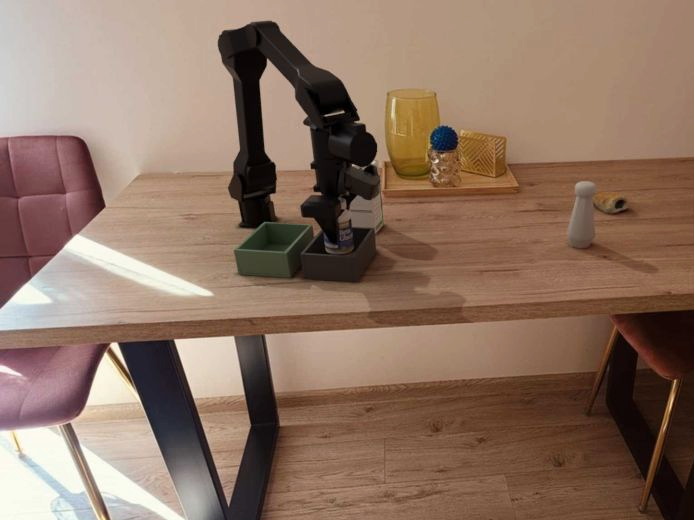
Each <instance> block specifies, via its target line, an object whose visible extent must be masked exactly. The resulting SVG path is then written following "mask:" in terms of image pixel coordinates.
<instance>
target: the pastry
mask: <svg viewBox="0 0 694 520" xmlns="http://www.w3.org/2000/svg"><path fill="white" fill-rule="evenodd" d="M593 204H594V206H596V208H597V209H599V210H600V211H602V212H603V213H605V214H611V215H613V214H616V213H619V212H621V211H625V210H627V209H628V208H629V206H630V201H629V198H627V196H626V195H625V196H624V195H622V194H620V193H619V192H616V191H596V195H595V196H593Z"/></svg>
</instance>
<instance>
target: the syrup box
mask: <svg viewBox="0 0 694 520" xmlns="http://www.w3.org/2000/svg"><path fill="white" fill-rule="evenodd" d="M371 164H373V165H375V166H377V170H378V175H380V166H379V165H380V164H379V160H377V159H374V160H373V162H372V163H371ZM352 167H355V168H358V169H359V168H360V167H359V166H356V165H353V164H352ZM361 168H362V170H363V169H364V168H365V167H361ZM382 197H383V196H382V186H381V182H380V183H379V186H378V189H377V192H376V195H374V197H373V199H372V200H365V199H363V198H362V197H360V196H358V195H357V197H356V198H355V199H354V200H353V201H352V202H351V205H350V210H349V212H350V214H351V221H352V227H364V228H374V229H375V235H376V234H377V233H378V232H379V230H380V229H381V228H382V227H383V226H384V225H385V221H384V211H383V210H384V209H383V198H382Z"/></svg>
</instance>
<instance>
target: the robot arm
mask: <svg viewBox="0 0 694 520" xmlns="http://www.w3.org/2000/svg"><path fill="white" fill-rule="evenodd" d="M217 48H218V52H219V54H220V58H221V63H222V65H223V66H224V68H225V69H226V71H227V72H228V73H229V74H230V76H231V77H232V84H233V94H234V95H233V96H234V103H235V114H236V124H237V133H238V134H237V135H238V144H239V151H238V153H237V155H236V157H235V159H234V160H233V162H232V163H233V164H232V167H233V168H232V169H233V171H232V172H233V173H232V177H231V179H230V182H229V184H228V186H227V190H228V193H229V197H230V199H233V200H235V201H236V202H237V204H238V209H239V214H240V219H241V221H240V222H239V223H238V227H243V228H256V229H257V228H258V227H259V226H260V225H261V224H263V223H264V222H275V221H276V220H277V219H278V215H276V209H275V204H274V201H273V200H272V198H271V195H275V194H277V181H278V175H277V165H276V163H275V161H272V159H271V157H269V156H268V154H267V152H266V148H265V133H264V122H263V121H264V119H263V108H262V94H261V79H262V77H263V75H264V72H265V71H266V69H267V66H268V62H270V63H271V65H273V67H275V68H276V69H277V71H278V72H279V73H280V74H281V75H282V77H284V78H285V79H286V80H287V81H288V82H289V84H291V87H292V88H293V89H294V99H295V101H296V102H297V104H298V105H299V107H300V108H301V109H302V111H303V112H304V114H306V117H305V118H304V119H303V120H302V124H303V126H306V127H309V132H310V142H311V148H312V158H313V161H311V162H310V164H309V165H310V170H314V173H315V174H314V175H315V182H316V183H315V184H314V185H313V186H312V189H313V193H320V194H310V195H309V196H307V198H306V199H305V200H304V201H303V202H302V203H301V205H300V206H299V208H300V214H301V217H302V218H305V219H314V221H315V222H316V223H317V225H318V226H319V227H320V230H323V232H324V233H325V235H326V236H327V238H328V239H329V241H330V243H333V244H336V243H337V236H338V218H339V217H340V216H341V214H342V213H343V212H344V211H345V209H341V201H340V200H339V198H344V199H345V200H346V210H348V211H349V210H350V205H351V202H352V201H353V200H354V199H355V198H356V197H357V195H358V196H360V197H362V198H363V199H365V200H372V199H373V197H374V195H376V192H377V189H378V186H379V183H380V184H381V183H382V182H381V181H382V180H381V174H379V175H378V170H377V166H375V165H373V164H371V163H372V162H373V160H376V157H377V155H378V143H377V141H376V138H375V136H374V135H373V134H371V132H369V131H367V124H366V123H363V122H360V121H361V118H360V115H359V112H358V108H357V107H356V105H355V103H354V102H353V100H352V98H351V96H350V94H349V92H348V90H347V88H346V86H345V84H344V82H343V81H342V80H341V78H339V77H337V76H336V75H335V74H334V73H332V72H331V71H329V70H327V69H324V68H322V67H318V66H316V65H315V64H313V63H312V62H311V61H310V60H309V59H308V58H307V57H306V55H304V54H303V53H302V51H301V50H300V49H298V48H297V47H296V46H295V44H294V43H292V41H291V40H290V39H289V38H288V37H287V36H286V35H285V34H284V33H283V32H282V31H281V28H280V26H279V24H278V23H277V22H276V21H273V20H257V21H251V22H249V23H247V24H246V25H244V26H242V27H238V28H233V29H231V28H230V29H224V30H222V32H221V34H219V35H218V39H217ZM352 164H353V165H356V166H359V167H360V168H359V169H358V168H355V167H352ZM361 167H365V168H364V169H363V170H362V168H361Z"/></svg>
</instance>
